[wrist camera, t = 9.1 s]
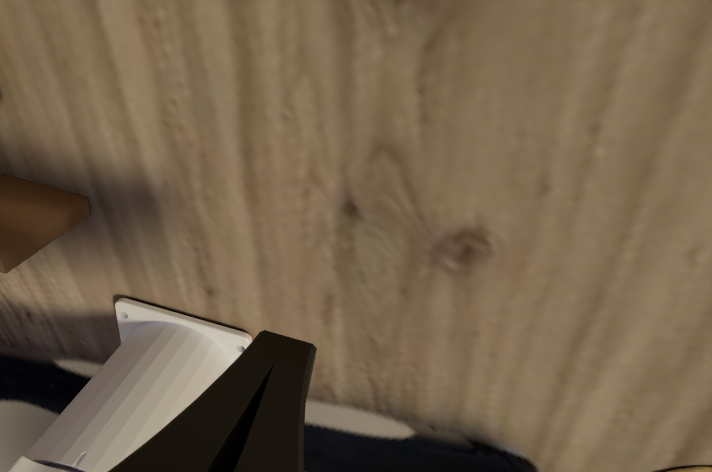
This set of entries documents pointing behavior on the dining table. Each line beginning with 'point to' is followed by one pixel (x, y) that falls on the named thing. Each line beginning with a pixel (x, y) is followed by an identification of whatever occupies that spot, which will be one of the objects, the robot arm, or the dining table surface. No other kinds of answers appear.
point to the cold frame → (34, 218)
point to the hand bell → (693, 469)
